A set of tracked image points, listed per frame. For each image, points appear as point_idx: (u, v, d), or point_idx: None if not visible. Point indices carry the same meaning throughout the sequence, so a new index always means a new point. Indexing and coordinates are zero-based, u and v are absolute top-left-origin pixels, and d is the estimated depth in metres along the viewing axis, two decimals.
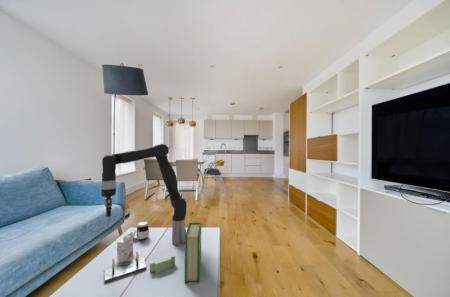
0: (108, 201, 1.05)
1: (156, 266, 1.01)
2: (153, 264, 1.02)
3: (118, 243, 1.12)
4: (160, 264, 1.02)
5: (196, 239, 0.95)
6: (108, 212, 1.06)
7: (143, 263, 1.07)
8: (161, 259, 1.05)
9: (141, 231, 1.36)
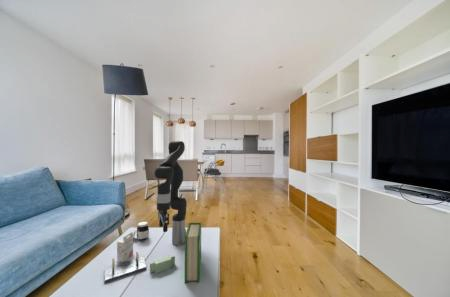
0: (166, 216, 1.00)
1: (156, 266, 1.01)
2: (153, 264, 1.02)
3: (118, 243, 1.12)
4: (160, 264, 1.02)
5: (196, 239, 0.95)
6: (165, 227, 1.01)
7: (143, 263, 1.07)
8: (161, 259, 1.05)
9: (141, 231, 1.36)
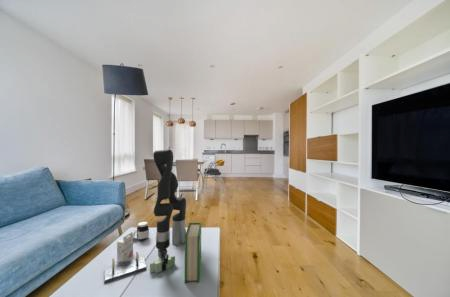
0: (165, 257, 1.00)
1: (156, 266, 1.01)
2: (153, 264, 1.02)
3: (118, 243, 1.12)
4: (160, 264, 1.02)
5: (196, 239, 0.95)
6: (164, 266, 1.02)
7: (143, 263, 1.07)
8: None
9: (141, 231, 1.36)
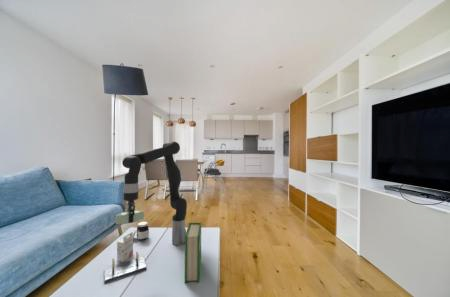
0: (131, 208, 0.99)
1: (122, 217, 1.00)
2: (119, 216, 1.01)
3: (118, 243, 1.12)
4: (127, 216, 1.01)
5: (196, 239, 0.95)
6: (131, 218, 1.01)
7: (143, 263, 1.07)
8: None
9: (141, 231, 1.36)
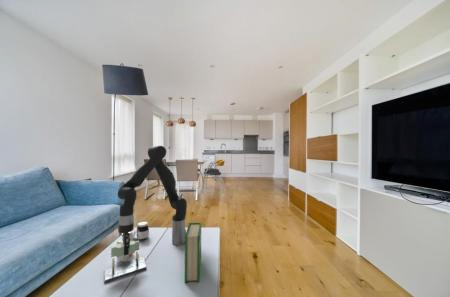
0: (126, 241, 0.98)
1: (117, 250, 1.00)
2: (115, 248, 1.00)
3: (118, 243, 1.12)
4: (122, 248, 1.01)
5: (196, 239, 0.95)
6: (126, 250, 1.01)
7: (143, 263, 1.07)
8: None
9: (141, 231, 1.36)
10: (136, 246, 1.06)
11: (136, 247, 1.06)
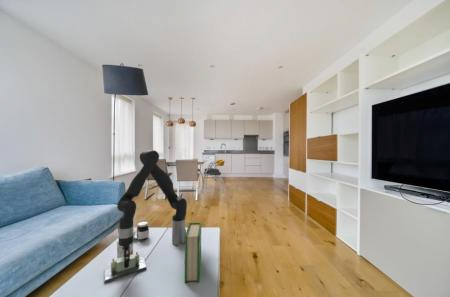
0: (126, 252, 0.98)
1: (117, 265, 1.00)
2: (115, 263, 1.00)
3: None
4: (122, 263, 1.01)
5: (196, 239, 0.95)
6: (126, 263, 0.99)
7: (143, 263, 1.07)
8: None
9: (141, 231, 1.36)
10: (136, 260, 1.06)
11: (136, 261, 1.06)
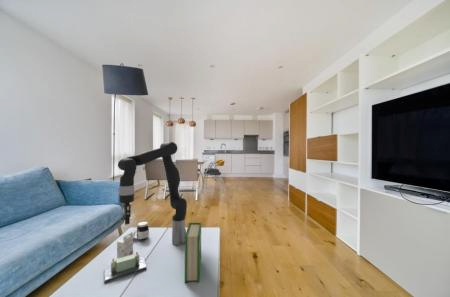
0: (127, 208, 0.98)
1: (117, 265, 1.00)
2: (115, 263, 1.00)
3: (118, 243, 1.12)
4: (122, 263, 1.01)
5: (196, 239, 0.95)
6: (127, 220, 0.99)
7: (143, 263, 1.07)
8: (124, 258, 1.04)
9: (141, 231, 1.36)
10: (136, 260, 1.06)
11: (136, 261, 1.06)
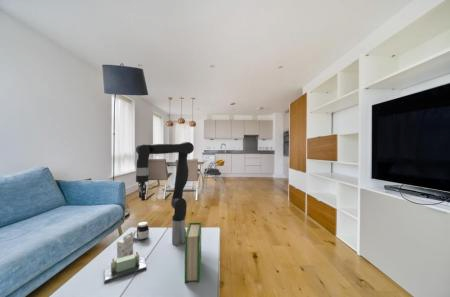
0: (143, 186, 1.14)
1: (117, 265, 1.00)
2: (115, 263, 1.00)
3: (118, 243, 1.12)
4: (122, 263, 1.01)
5: (196, 239, 0.95)
6: (143, 196, 1.15)
7: (143, 263, 1.07)
8: (124, 258, 1.04)
9: (141, 231, 1.36)
10: (136, 260, 1.06)
11: (136, 261, 1.06)
